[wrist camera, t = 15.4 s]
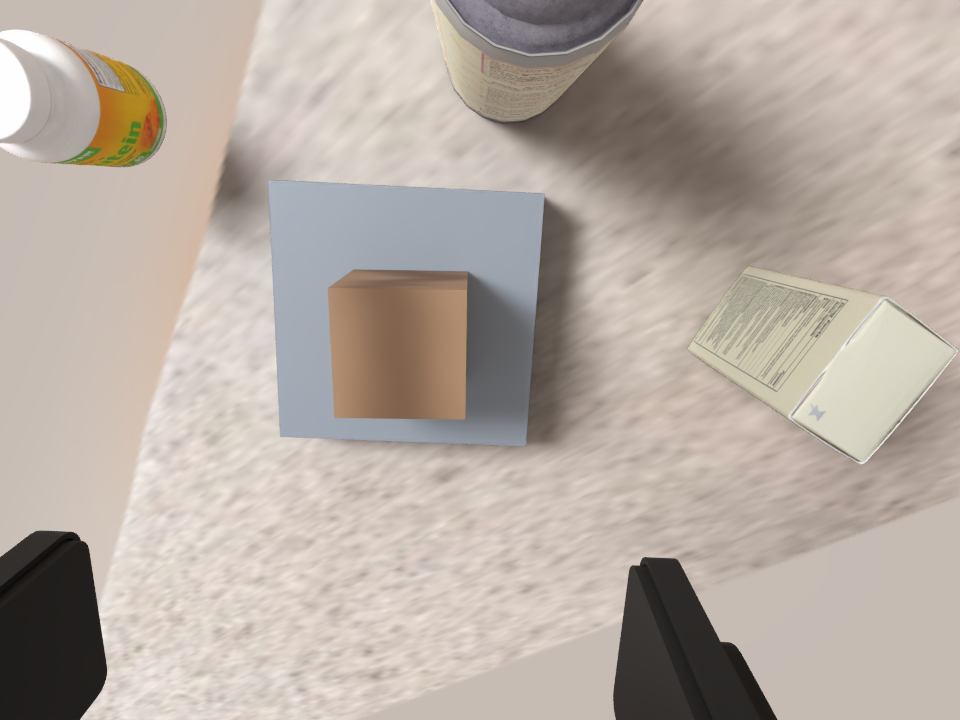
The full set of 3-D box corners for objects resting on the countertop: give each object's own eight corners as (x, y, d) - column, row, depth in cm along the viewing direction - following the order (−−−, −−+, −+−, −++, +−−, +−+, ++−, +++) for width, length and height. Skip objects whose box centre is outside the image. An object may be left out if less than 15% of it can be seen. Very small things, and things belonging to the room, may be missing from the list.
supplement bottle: (124, 188, 34) (-9, 189, 25) (48, 108, 33) (-122, 77, 23) (190, 122, 33) (78, 97, 24) (114, 38, 32) (-36, -24, 23)
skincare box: (738, 384, 37) (859, 475, 26) (683, 348, 37) (781, 424, 25) (807, 297, 36) (968, 351, 24) (750, 258, 35) (888, 294, 24)
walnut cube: (467, 271, 32) (467, 290, 26) (466, 379, 34) (465, 419, 28) (353, 269, 32) (327, 288, 26) (358, 377, 34) (334, 418, 28)
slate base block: (536, 193, 35) (544, 193, 31) (520, 420, 39) (525, 446, 35) (290, 180, 34) (268, 180, 31) (299, 411, 38) (280, 436, 34)
